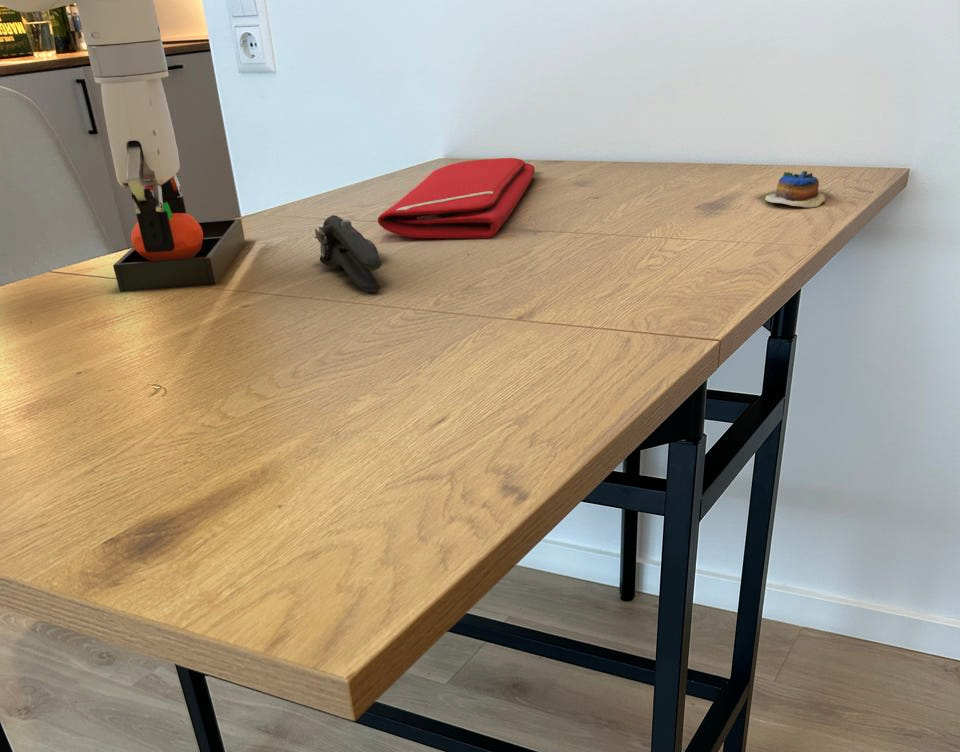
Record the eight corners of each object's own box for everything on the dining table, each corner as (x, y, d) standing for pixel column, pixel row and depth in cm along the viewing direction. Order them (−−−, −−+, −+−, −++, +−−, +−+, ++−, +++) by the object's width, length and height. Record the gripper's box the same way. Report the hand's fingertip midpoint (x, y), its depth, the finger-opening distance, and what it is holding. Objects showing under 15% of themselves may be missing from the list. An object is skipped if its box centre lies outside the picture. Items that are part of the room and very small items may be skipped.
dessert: (821, 203, 124) (798, 160, 123) (774, 234, 128) (751, 193, 128) (835, 196, 130) (813, 154, 129) (790, 225, 134) (768, 186, 134)
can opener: (313, 264, 119) (305, 213, 116) (370, 255, 120) (364, 205, 117) (341, 300, 104) (333, 243, 101) (405, 290, 106) (400, 234, 103)
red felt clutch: (537, 177, 157) (536, 150, 154) (499, 238, 123) (498, 206, 121) (439, 181, 159) (437, 155, 157) (376, 242, 126) (372, 211, 124)
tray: (121, 297, 111) (112, 265, 109) (163, 253, 129) (157, 224, 127) (216, 290, 111) (209, 257, 109) (246, 247, 129) (241, 218, 127)
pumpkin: (136, 261, 116) (121, 201, 113) (205, 251, 118) (193, 193, 115) (139, 274, 111) (124, 212, 107) (212, 264, 113) (199, 203, 109)
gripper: (115, 59, 111) (154, 228, 121) (66, 73, 96) (115, 264, 106) (182, 55, 111) (215, 224, 121) (144, 67, 96) (185, 259, 106)
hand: (168, 241), depth 113 cm, fingers closed on pumpkin, 7 cm apart
